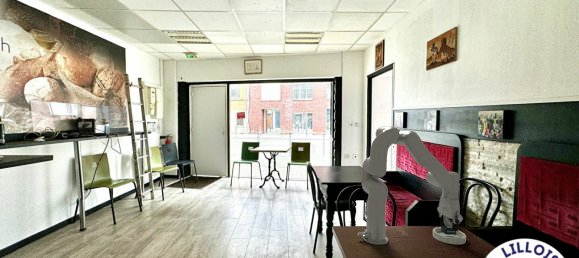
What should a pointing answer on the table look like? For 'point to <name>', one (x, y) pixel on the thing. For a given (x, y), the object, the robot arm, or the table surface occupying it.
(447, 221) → the watch
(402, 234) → the table surface
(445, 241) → the dish
